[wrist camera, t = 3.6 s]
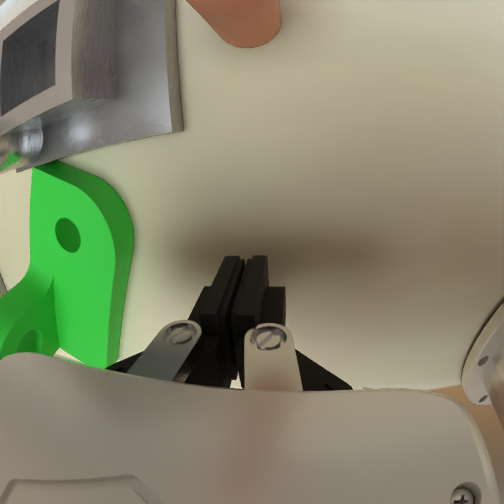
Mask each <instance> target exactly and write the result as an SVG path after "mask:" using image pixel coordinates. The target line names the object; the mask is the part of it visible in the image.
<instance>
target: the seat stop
mask: <svg viewBox="0 0 504 504" xmlns="http://www.w3.org/2000/svg"><path fill="white" fill-rule="evenodd" d="M6 293H7V290H6V288H5V286H4V283H3V281H2V278H1V275H0V298H1V297H2V296H3V295H5V294H6Z"/></svg>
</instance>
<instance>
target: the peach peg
mask: <svg viewBox="0 0 504 504" xmlns="http://www.w3.org/2000/svg"><path fill="white" fill-rule="evenodd" d="M186 1H187V2H188V3H189V4H190V5H191V6H192V7H193V8H194V9H195V10H196V11H197V12H198V13H199V14H200V15H201V16H202V17H203V18H204V19H205V20H206V21H207V23H208V24H209V25H210V26H211V27H212V28H213V29H214V30H215V31H216V32H217V33H218V35H219V36H220V37H221V38H222V39H223V40H224V41H226V42H227V43H229V44H231V45H233V46H236V47H241V48H252V47H257V46H260V45H263V44H265V43H267V42H269V41H270V40H271V39H273V38H274V37H275V35H276V34H277V33H278V31H279V29H280V26H281V12H280V5H279V0H186Z"/></svg>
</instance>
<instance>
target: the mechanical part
mask: <svg viewBox="0 0 504 504" xmlns="http://www.w3.org/2000/svg"><path fill="white" fill-rule="evenodd" d="M133 250H134V231H133V225H132V221H131V218H130V215H129V213H128V210H127V208H126V206H125V204H124V202H123V201H122V199H121V198H120V196H119V195H118V193H117V192H116V191H115V190H114V189H113V188H112V187H111V186H110V185H109V184H108V183H107V182H105V181H104V180H102V179H101V178H99V177H97V176H94V175H92V174H89V173H87V172H84V171H82V170H80V169H77V168H75V167H72V166H70V165H67V164H65V163H62V162H60V161H57V160H55V161H51V162H48V163H45V164H41V165H38V166H35V167H33V172H32V183H31V198H30V265H29V268H28V271H27V273H26V275H25V277H24V278H23V279H22V280H21V281H20V282H19V283H18V284H17V285H16V286H14V287H13V288H12V289H11V290H9V291H8V292H7V293H6V294H5V295H3V296H2V297H1V298H0V360H2V359H3V358H4V357H6V356H8V355H11V354H15V353H23V352H31V353H41V354H47V355H50V356H53V355H54V354H55V352H56V351H57V350H58V349H59V348H61V349H63V350H64V351H66V352H67V353H69V354H70V355H72V356H74V357H75V358H77V359H78V360H80V361H82V362H83V363H85V364H87V365H90V366H94V367H98V368H102V369H105V368H106V367H108V366H110V365H112V364H114V363H115V362H116V361H117V359H118V354H119V343H120V334H121V325H122V317H123V310H124V302H125V296H126V289H127V283H128V277H129V271H130V266H131V260H132V255H133Z"/></svg>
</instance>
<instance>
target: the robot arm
mask: <svg viewBox="0 0 504 504" xmlns="http://www.w3.org/2000/svg"><path fill="white" fill-rule="evenodd" d="M285 318H286V295H285V287H269V280H268V261H267V256H253V257H252V259H248V260H247V263H246V267H245V260H244V259H240V257H239V256H225V258H224V260H223V262H222V264H221V266H220V268H219V270H218V272H217V275H216V277H215V279H214V281H213V283H212V285H211V286H205V287H204V288H203V290H202V292H201V294H200V296H199V298H198V300H197V302H196V304H195V306H194V308H193V310H192V312H191V314H190V316H189V318H188V320H179V321H175V322H172V323H170V324H168V325H166V326H165V327H164V328H163V329H161V331H160V332H159V333H158V334H157V336H156V337H155V338H154V339H153V341H152V342H151V343H150V344H149V346H148V347H147V348H146V349H145V351H143V352H141V353H138V354H136V355H134V356H131V357H129V358H126V359H124V360H122V361H119V362H117V363H114V364H112V365H110V366H108V367H106V368H105V369H102V368H98V367H94V366H90V365H86V364H82V363H78V362H74V361H70V360H66V359H62V358H58V357H54V356H50V355H47V354H41V353H31V352H23V353H15V354H11V355H8V356H6V357H4V358H3V359H2V360H0V504H501V502H500V497H499V491H498V486H497V482H496V477H495V473H494V469H493V466H492V462H491V459H490V456H489V453H488V451H487V447H486V444H485V442H484V439H483V437H482V434H481V432H480V430H479V428H478V426H477V424H476V422H475V420H474V418H473V417H472V415H471V414H470V412H469V411H468V410H467V408H466V407H465V406H464V405H463V404H461V403H460V402H459V401H457V400H456V399H454V398H452V397H449V396H447V395H444V394H440V393H436V392H430V391H425V390H418V389H405V388H381V389H372V388H363V389H362V390H353V389H352V387H351V386H350V385H348V384H347V383H346V382H344V381H343V380H341V379H340V378H338V377H337V376H335V375H334V374H332V373H330V372H329V371H327V370H326V369H324V368H323V367H321V366H320V365H318V364H317V363H315V362H314V361H312V360H311V359H309V358H308V357H306V356H305V355H303V354H302V353H300V352H299V351H297V350H296V349H295V347H294V343H293V338H292V334H291V332H290V331H289V330H288V329H287V328H286V327H285ZM238 371H239V378H240V381H241V387H242V388H243V389H236V388H230V385H231V381H232V380H236V379H237V376H238ZM462 387H463V390H464V392H465V394H466V397H467V399H468V400H469V401H470V402H471V403H473V404H476V405H489V404H493V406H494V408H495V411H496V413H497V415H498V418H499V420H500V423H501V425H502V428H503V430H504V302H503V303H502V305H501V306H500V307H499V308H498V309H497V311H496V312H495V313H494V315H493V316H492V317H491V319H490V320H489V322H488V323H487V324H486V326H485V327H484V329H483V330H482V332H481V334H480V335H479V337H478V338H477V340H476V341H475V343H474V345H473V347H472V349H471V351H470V353H469V355H468V357H467V360H466V363H465V366H464V369H463V374H462Z"/></svg>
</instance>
